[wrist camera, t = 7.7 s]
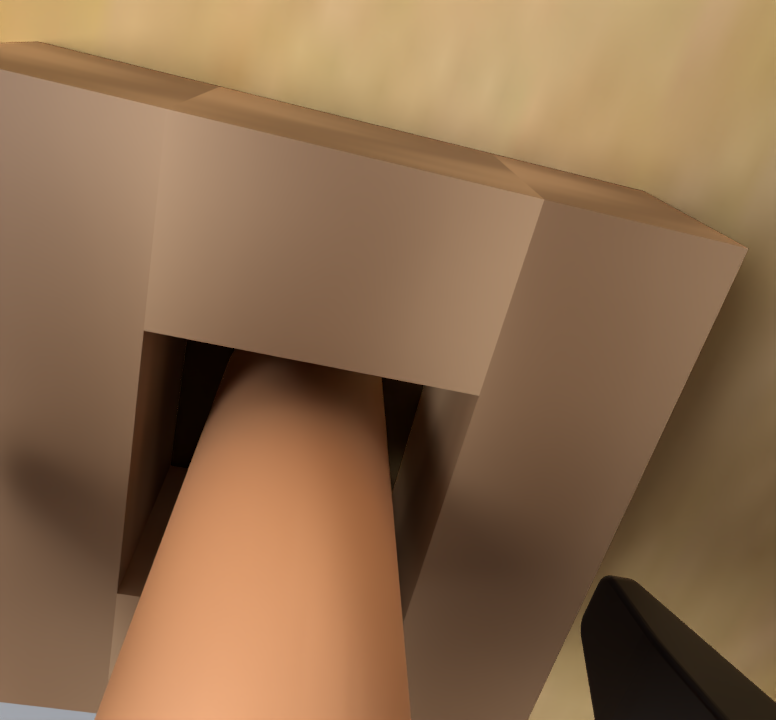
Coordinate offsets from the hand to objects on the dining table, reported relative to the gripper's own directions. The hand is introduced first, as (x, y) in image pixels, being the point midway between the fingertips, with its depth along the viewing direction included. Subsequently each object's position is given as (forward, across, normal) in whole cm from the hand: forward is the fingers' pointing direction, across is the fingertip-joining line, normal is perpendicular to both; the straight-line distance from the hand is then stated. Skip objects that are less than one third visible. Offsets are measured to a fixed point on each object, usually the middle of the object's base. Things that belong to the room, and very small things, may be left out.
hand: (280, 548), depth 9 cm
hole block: (+4, 0, 0) cm, 4 cm away
